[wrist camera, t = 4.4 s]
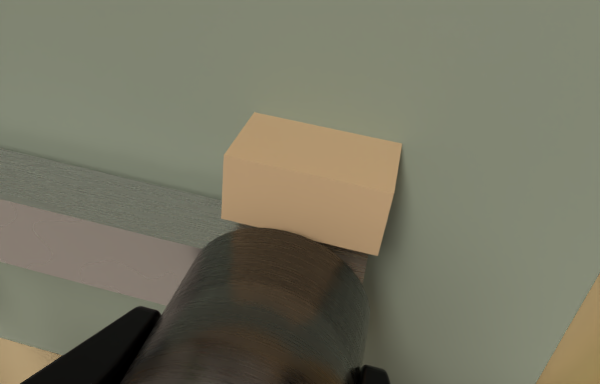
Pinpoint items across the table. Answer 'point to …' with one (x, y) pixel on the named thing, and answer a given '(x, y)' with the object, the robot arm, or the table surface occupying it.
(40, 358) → the table surface
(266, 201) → the pitch
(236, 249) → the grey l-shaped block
